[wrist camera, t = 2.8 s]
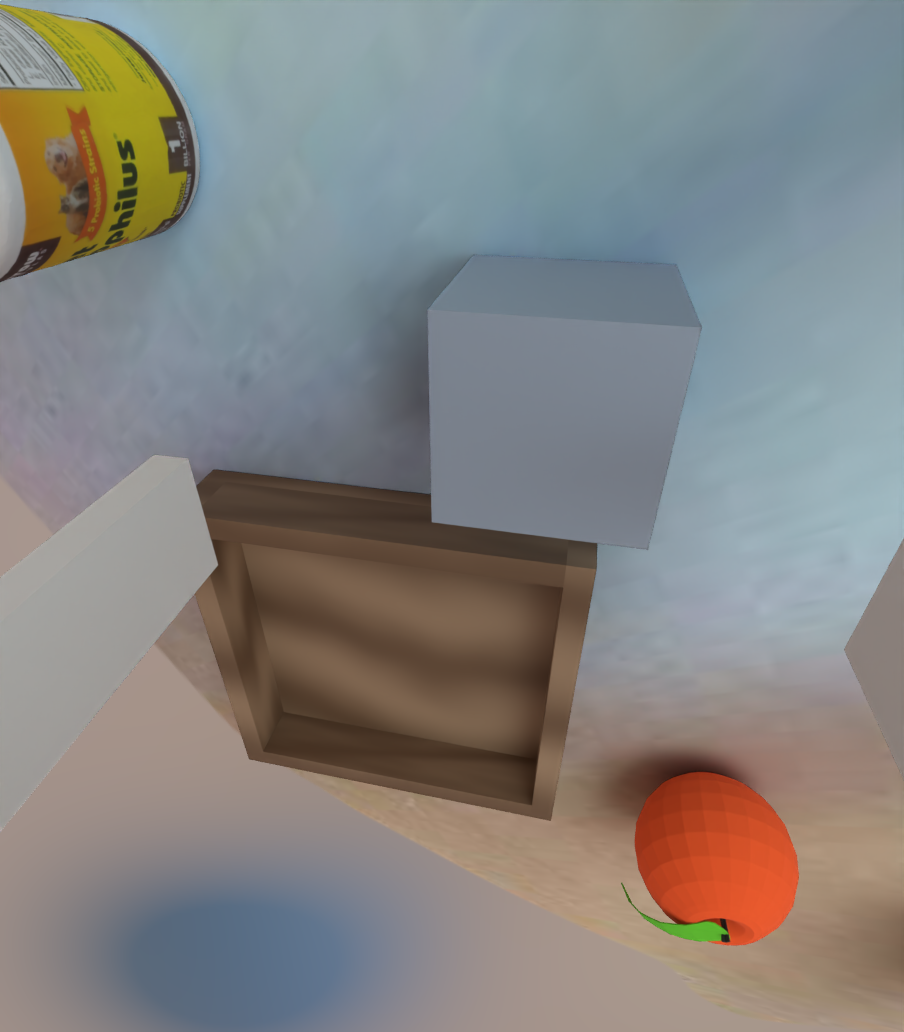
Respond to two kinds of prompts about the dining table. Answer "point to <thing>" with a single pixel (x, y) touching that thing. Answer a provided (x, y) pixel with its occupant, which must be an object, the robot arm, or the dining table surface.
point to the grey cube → (557, 395)
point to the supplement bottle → (86, 141)
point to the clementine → (715, 860)
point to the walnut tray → (394, 639)
